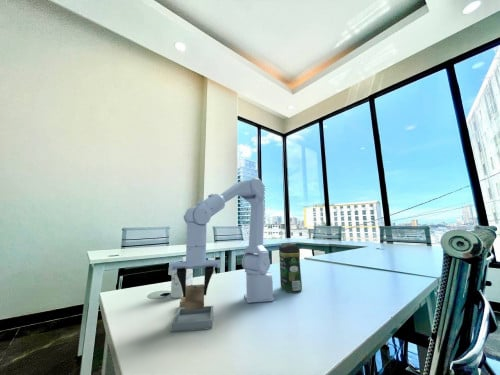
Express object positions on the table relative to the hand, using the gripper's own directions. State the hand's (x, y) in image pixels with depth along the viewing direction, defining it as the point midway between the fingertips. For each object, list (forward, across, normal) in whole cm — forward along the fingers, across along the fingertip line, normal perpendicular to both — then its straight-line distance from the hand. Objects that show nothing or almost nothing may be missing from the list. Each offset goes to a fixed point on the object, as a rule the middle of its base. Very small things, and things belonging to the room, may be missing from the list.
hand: (194, 295), depth 59 cm
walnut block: (+3, 0, 0) cm, 3 cm away
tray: (+7, 0, 0) cm, 7 cm away
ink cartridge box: (+7, +5, -26) cm, 28 cm away
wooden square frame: (+7, +2, -11) cm, 13 cm away
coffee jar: (+7, -38, -19) cm, 43 cm away
